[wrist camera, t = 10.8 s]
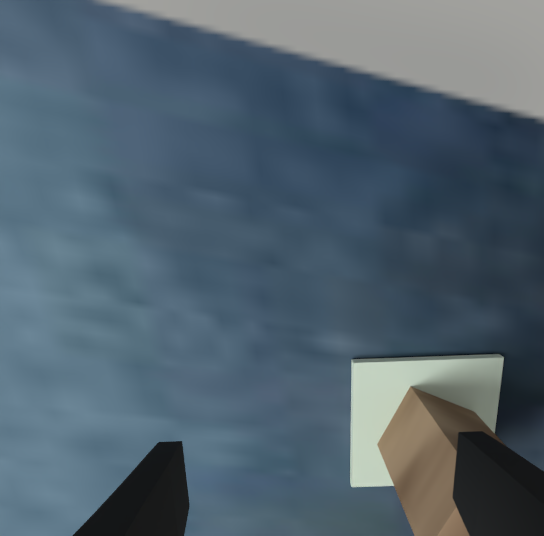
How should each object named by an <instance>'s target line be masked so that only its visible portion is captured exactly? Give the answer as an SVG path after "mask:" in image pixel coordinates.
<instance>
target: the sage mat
mask: <svg viewBox="0 0 544 536" xmlns="http://www.w3.org/2000/svg"><path fill="white" fill-rule="evenodd" d="M503 361H504V357H503V356H501V355H500V354H485V355H457V356H430V357H402V358H375V359H352V368H351V452H350V483H351V486H352V487H371V486H394V484H393V482H392V479H391V477H390V475H389V472H388V470H387V467H386V465H385V463H384V460H383V458H382V455H381V453H380V450H379V448H378V446H377V444H378V442H379V440H380V438H381V437H382V435H383V433H384V431H385V430H386V428H387V426H388V424H389V423H390V421H391V419H392V417H393V416H394V414H395V412H396V410H397V409H398V407H399V405H400V403H401V402H402V400H403V398H404V396H405V395H406V393H407V391H408V390H409V388H410V386H411V387H414V388H416V389H419V390H421V391H424V392H426V393H429V394H431V395H434V396H436V397H439V398H441V399H444V400H446V401H449V402H451V403H454V404H456V405H459V406H462V407H464V408H467V409H469V410H472V411H474V412H475V413H476V414H477V415H478V416H479V417H480V418H481V419H482V420H483V422H484V423H485V424H486V425H487V426H488V427H489V428H490V429H491V430H492V431H493V432H494V433H495V427H496V419H497V411H498V402H499V394H500V386H501V378H502V370H503Z"/></svg>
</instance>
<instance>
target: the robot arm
mask: <svg viewBox="0 0 544 536" xmlns="http://www.w3.org/2000/svg"><path fill="white" fill-rule="evenodd" d="M452 498H453V500H454V502H455V504H456V507H457V509H458V511H459V514H460V516H461V518H462V520H463V523H464V525H465V527H466V529H467V531H468V533H469V536H544V472H543V471H542V470H540V469H539V468H538V467H536V466H535V465H533V464H532V463H530V462H529V461H527V460H526V459H524V458H523V457H521V456H520V455H518V454H517V453H515V452H514V451H512V450H511V449H509V448H508V447H506V446H505V445H503V444H502V443H500V442H499V441H497V440H496V439H494V438H493V437H491V436H489V435H488V434H486V433H484V432H483V431H473V432H458V443H457V454H456V464H455V475H454V486H453V496H452ZM188 511H189V497H188V489H187V480H186V472H185V463H184V455H183V446H182V441H176V442H159V443H158V444H157V445H156V446H155V447H154V448H153V449H152V450H151V451H150V452H149V453H148V454H147V456H146V457H145V458H144V459H143V460H142V461H141V462H140V463H139V465H138V466H137V467H136V468H135V469H134V470H133V471H132V472H131V474H130V475H129V476H128V477H127V478H126V479H125V480H124V481H123V483H122V484H121V485H120V486H119V487H118V488H117V489H116V490H115V491H114V492H113V494H112V495H111V496H110V497H109V498H108V499H107V500H106V501H105V502H104V503H103V504H102V505H101V506H100V508H99V509H98V510H97V511H96V512H95V513H94V514H93V515H92V516H91V517H90V518H89V519H88V520H87V521H86V522H85V523H84V525H83V526H82V527H81V528H80V529H79V530H78V531H77V532H76V533H75V534H74V535H73V536H184V532H185V527H186V522H187V516H188Z"/></svg>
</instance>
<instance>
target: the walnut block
mask: <svg viewBox="0 0 544 536" xmlns="http://www.w3.org/2000/svg"><path fill="white" fill-rule="evenodd" d="M473 431H483V432H484V433H486V434H488V435H489V436H491V437H493V438H494V439H496V440H497V441H499V442H500V443H502V444H503V445H505V444H504V443H503V442H502V441H501V440H500V439H499V438H498V437H497V436H496V435H495V433H494V432H493V431H492V430H491V429H490V428H489V427H488V426H487V425H486V424H485V423H484V422H483V420H482V419H481V418H480V417H479V416H478V415H477V414H476V413H475V412H474V411H472V410H469V409H467V408H464V407H462V406H459V405H456V404H454V403H451V402H449V401H446V400H444V399H441V398H439V397H436V396H434V395H431V394H429V393H426V392H424V391H421V390H419V389H416V388H414V387H411V386H410V388H409V390H408V391H407V393H406V395H405V396H404V398H403V400H402V402H401V403H400V405H399V407H398V409H397V410H396V412H395V414H394V416H393V417H392V419H391V421H390V423H389V424H388V426H387V428H386V430H385V431H384V433H383V435H382V437H381V438H380V440H379V442H378V444H377V446H378V448H379V450H380V453H381V455H382V458H383V460H384V463H385V465H386V467H387V470H388V472H389V475H390V477H391V479H392V482H393V484H394V487H395V489H396V492H397V494H398V496H399V499H400V501H401V504H402V506H403V509H404V511H405V513H406V516H407V518H408V521H409V523H410V526H411V528H412V530H413V533H414V535H415V536H469V533H468V531H467V529H466V527H465V525H464V523H463V520H462V518H461V516H460V514H459V511H458V509H457V507H456V504H455V502H454V500H453V498H452V496H453V486H454V475H455V464H456V454H457V443H458V432H473ZM505 446H506V445H505Z"/></svg>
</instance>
